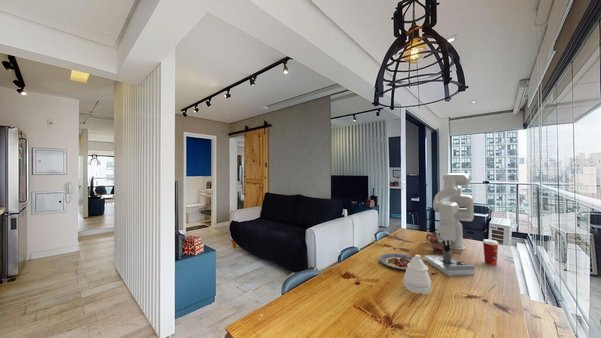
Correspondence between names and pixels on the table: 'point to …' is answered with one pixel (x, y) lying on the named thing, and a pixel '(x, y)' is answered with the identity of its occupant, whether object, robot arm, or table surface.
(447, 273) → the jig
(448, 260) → the gray cylinder
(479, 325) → the table surface
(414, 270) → the honey pot
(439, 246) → the decorative planter
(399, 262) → the ceramic plate
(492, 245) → the coffee cup
